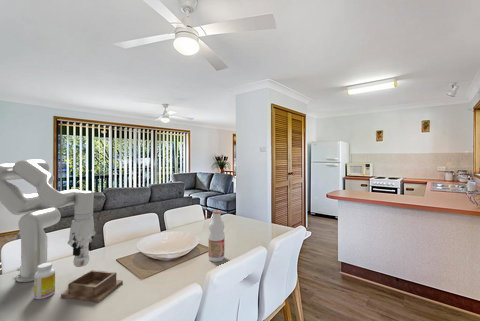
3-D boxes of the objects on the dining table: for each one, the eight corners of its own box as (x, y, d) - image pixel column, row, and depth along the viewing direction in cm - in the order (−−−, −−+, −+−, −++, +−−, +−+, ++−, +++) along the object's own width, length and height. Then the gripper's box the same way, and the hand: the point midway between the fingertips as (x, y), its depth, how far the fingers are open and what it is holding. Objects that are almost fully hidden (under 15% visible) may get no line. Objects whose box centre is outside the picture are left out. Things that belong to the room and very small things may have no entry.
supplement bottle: (59, 290, 97) (59, 261, 97) (46, 299, 90) (46, 268, 90) (43, 290, 96) (43, 261, 96) (29, 300, 90) (29, 268, 90)
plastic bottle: (86, 261, 113) (88, 222, 113) (91, 265, 109) (93, 225, 109) (71, 265, 108) (73, 224, 108) (75, 270, 104) (77, 228, 104)
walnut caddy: (60, 297, 92) (61, 284, 92) (89, 279, 106) (89, 268, 106) (98, 302, 89) (98, 289, 89) (122, 283, 103) (122, 272, 103)
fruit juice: (205, 257, 131) (206, 210, 131) (219, 253, 136) (220, 208, 136) (212, 263, 123) (213, 213, 123) (227, 259, 128) (227, 211, 128)
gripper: (91, 211, 118) (89, 245, 118) (60, 220, 101) (58, 259, 101) (103, 212, 116) (102, 247, 116) (74, 221, 99) (72, 261, 99)
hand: (81, 252), depth 109 cm, fingers closed on plastic bottle, 5 cm apart
